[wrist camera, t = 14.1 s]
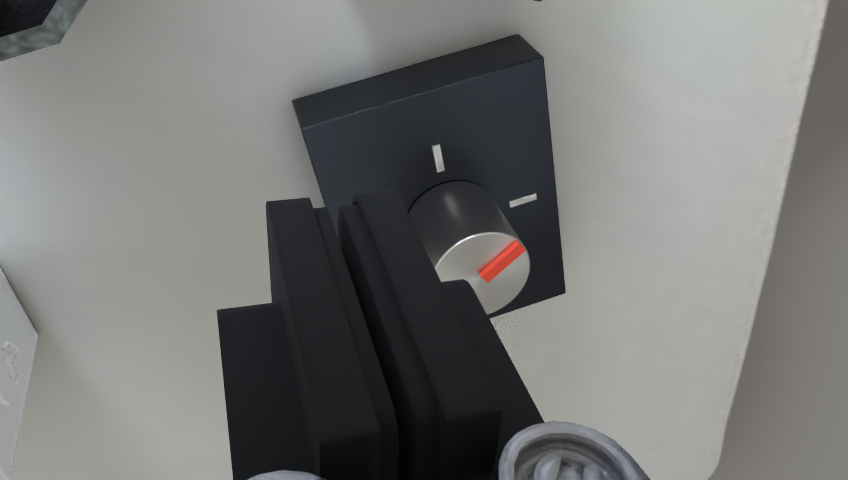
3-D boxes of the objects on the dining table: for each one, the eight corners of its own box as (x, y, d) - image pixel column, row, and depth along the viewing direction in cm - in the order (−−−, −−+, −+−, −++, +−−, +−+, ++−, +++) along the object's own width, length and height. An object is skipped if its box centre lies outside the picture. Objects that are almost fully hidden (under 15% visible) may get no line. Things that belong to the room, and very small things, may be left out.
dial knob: (445, 276, 39) (475, 338, 35) (385, 228, 36) (411, 289, 33) (513, 216, 38) (552, 272, 34) (456, 162, 35) (492, 217, 32)
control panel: (291, 100, 35) (301, 130, 32) (519, 33, 36) (545, 58, 34) (362, 321, 43) (374, 359, 41) (544, 262, 44) (567, 295, 42)
